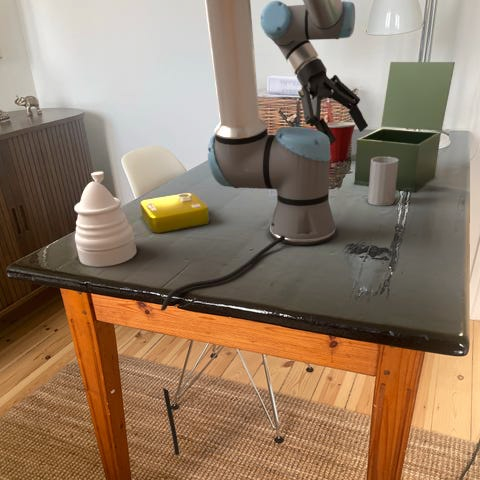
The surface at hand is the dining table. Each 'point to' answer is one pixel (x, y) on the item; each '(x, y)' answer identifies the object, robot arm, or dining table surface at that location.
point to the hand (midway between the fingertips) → (348, 135)
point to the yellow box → (174, 212)
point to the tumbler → (382, 180)
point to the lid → (417, 95)
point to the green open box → (399, 156)
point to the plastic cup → (341, 139)
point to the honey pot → (102, 227)
